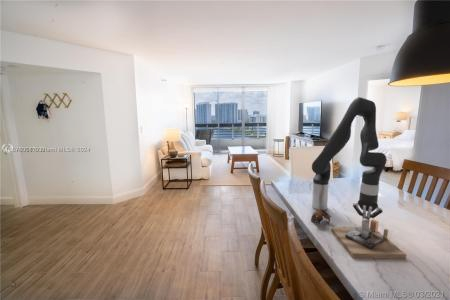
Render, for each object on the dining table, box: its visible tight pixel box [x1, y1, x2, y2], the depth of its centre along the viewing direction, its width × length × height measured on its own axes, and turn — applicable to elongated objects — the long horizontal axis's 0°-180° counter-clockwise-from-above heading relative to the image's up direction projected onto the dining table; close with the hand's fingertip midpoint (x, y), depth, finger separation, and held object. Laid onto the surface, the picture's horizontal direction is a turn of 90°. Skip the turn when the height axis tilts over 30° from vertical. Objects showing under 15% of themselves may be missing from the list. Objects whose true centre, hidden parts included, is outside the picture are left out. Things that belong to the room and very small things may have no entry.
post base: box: [330, 217, 407, 260], centre depth 100 cm, size 22×22×12 cm
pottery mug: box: [310, 209, 331, 225], centre depth 120 cm, size 12×10×8 cm
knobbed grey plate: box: [345, 218, 384, 249], centre depth 101 cm, size 16×12×7 cm
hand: (365, 223), depth 107 cm, fingers closed
